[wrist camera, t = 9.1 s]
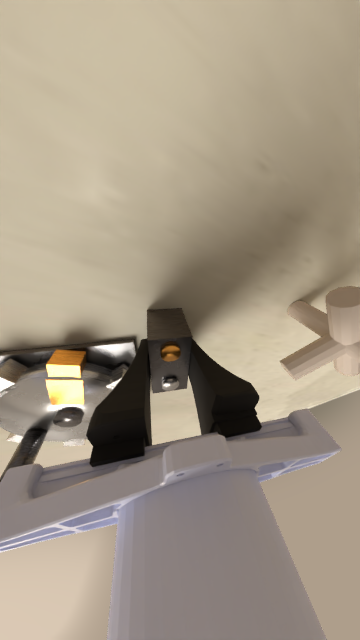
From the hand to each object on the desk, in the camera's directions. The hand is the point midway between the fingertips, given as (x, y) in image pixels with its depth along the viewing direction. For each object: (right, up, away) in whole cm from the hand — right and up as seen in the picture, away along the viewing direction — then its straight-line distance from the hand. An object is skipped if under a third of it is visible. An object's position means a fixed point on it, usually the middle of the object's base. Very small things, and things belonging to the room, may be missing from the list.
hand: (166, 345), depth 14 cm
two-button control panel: (0, +1, +1) cm, 1 cm away
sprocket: (-10, -6, +3) cm, 12 cm away
